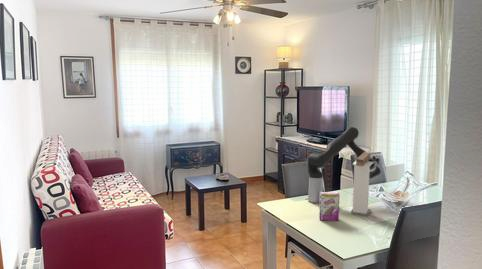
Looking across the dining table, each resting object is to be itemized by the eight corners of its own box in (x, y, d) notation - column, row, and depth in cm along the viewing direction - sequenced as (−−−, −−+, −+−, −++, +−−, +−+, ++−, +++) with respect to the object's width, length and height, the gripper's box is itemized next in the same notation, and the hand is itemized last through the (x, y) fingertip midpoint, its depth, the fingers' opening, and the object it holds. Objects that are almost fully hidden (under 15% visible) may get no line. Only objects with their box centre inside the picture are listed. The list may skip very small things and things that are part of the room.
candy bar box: (319, 220, 215) (320, 194, 213) (318, 217, 220) (319, 191, 218) (339, 221, 214) (339, 194, 212) (337, 218, 219) (338, 191, 217)
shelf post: (367, 216, 222) (369, 165, 217) (350, 213, 226) (352, 163, 222) (370, 211, 230) (372, 161, 226) (354, 208, 235) (356, 160, 231)
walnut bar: (363, 166, 214) (363, 159, 214) (356, 165, 216) (356, 159, 216) (370, 158, 235) (370, 152, 235) (363, 158, 237) (363, 152, 236)
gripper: (359, 158, 252) (355, 150, 239) (381, 160, 246) (378, 152, 232) (358, 168, 250) (354, 161, 237) (380, 171, 243) (377, 163, 230)
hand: (366, 156), depth 235 cm, fingers open, 8 cm apart
